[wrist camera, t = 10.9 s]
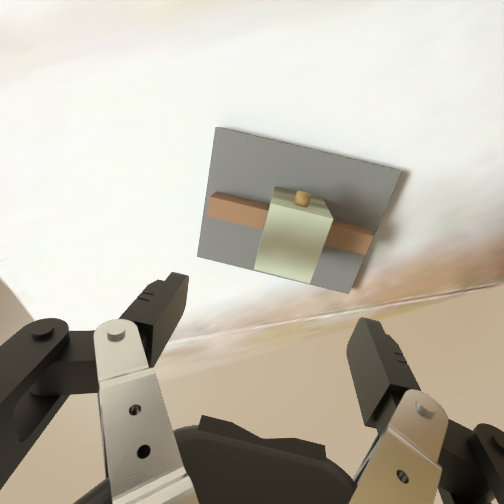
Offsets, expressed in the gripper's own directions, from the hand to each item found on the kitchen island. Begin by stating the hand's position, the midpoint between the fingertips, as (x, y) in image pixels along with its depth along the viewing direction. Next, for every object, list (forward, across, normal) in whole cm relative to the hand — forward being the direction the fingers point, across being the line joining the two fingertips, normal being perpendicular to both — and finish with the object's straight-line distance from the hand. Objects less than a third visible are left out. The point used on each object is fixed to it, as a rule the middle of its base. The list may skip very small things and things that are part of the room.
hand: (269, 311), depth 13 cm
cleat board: (+19, -1, +1) cm, 19 cm away
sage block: (+18, -1, +1) cm, 18 cm away
